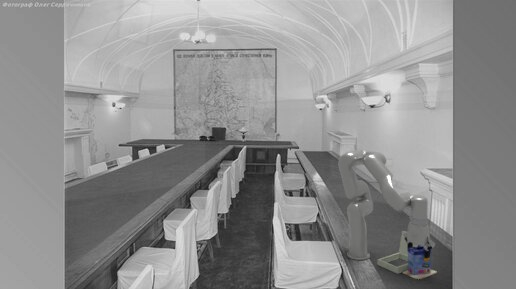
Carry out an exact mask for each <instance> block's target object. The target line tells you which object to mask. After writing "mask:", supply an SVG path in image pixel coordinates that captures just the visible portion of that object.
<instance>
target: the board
mask: <svg viewBox="0 0 516 289" xmlns="http://www.w3.org/2000/svg"><path fill="white" fill-rule="evenodd" d="M402 274H404V275H406V276H409V277H411V278H413V279H415V280H417V279H418V280H417V281H419V279H420V280H422V279H425V278H427V277H430V276H431V275H432V276H433V275H435V274H437V270H434V269H431V272H430V273H424V274H418V275H413V274H412V273H411V272H409V271H408V270H407V271H404V272H402Z"/></svg>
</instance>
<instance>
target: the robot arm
mask: <svg viewBox="0 0 516 289" xmlns="http://www.w3.org/2000/svg"><path fill="white" fill-rule="evenodd" d="M386 164H387V158H386V156H385V154H383V153H381V152H378V151H371V150H366V149H365V150H364V149H358V150H351V151H346V152H345V153H343V154H342V155H341V156H340V157H339V159H338V163H337V165H338V166H337V167H338V171H339V173H340V176H341V181H342V182H341V183H342V186H343V189H344V194H345V197H347V199H349V200H355V201H352V202H351V203H349V204H348V205H347V208H346V214H347V218H348V232H349V234H348V235H349V236H348V238H349V243H348V244H347V245H346V247H345V248H346V249H347V250H348V251H347V253H346V256H347V258H349V259H352V260H356V261H364V260H368V259H369V258H370V257H371V254H370V253H369V252H368V241H367V240H368V238H367V231H368V230H367V222H366V220H365V217H366V216H368V215H370V214H371V213H372V212H373V210H374V202H373V197H372V195H371V190H370V188H369V185H368V184H367V182H365V181H364V180H360V179H358V175H357V173H356V171H355V169H354V167H357V166H360V165H362V166H364V167H365V168H366V170H367V172H369V173H370V174H371V176H372V177H373V179H375V181H376V182H377V183H378V185H379V189H380V192H381V195H382V197H383V198H384V200H385V201H386V203H387V204H388V205H389V206H390V208H392V209H393V210H394V211H398V212H403V211H405V210H406V209H410V216H409V217H408V218H409V219H410V221H409V222H408V225H407V231H406V232H407V233H404V234H403V235H404V237H405V240H406V243H407V249H408V248H411V247H413V243H414V244H417V245H419V246H424V248H425V252H424V258H425V259H426V258H429V257H430V250H431V251H432V249H434V248H435V245H436V243H435V242H434V241H433V240H432V239H431V237H430V236H431V234H430V228H429V224H428V205H429V204H428V198H427V197H426V196H422V195H415V194H412V193H408V192H403V193H400V194H399V193H398V192H397V191H396V189H395V188H394V185H393V176H394V175H393V173H392V172H391V170H390V169H388V167H387V166H386ZM427 247H428V248H427ZM407 251H408V250H407Z"/></svg>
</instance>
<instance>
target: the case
mask: <svg viewBox="0 0 516 289" xmlns="http://www.w3.org/2000/svg"><path fill="white" fill-rule="evenodd" d="M404 233H407V231H405V230H402V231H401V237H400V242H399V247H398V248H399V250H398V252H396V253H392V254H390V255H387V256H384V257H381V258H378V259H377V266H379V267H382V268H383V269H386V270H388V271H390V272H392V273H395V274H400V273H403V272H404V271H407V270H408V251H407V250H408V249H407V243H406V240H405V237H404V235H403V234H404ZM417 246H418V245H417V244H414V243H413V247H417ZM399 259H400V260H403V261H404V262H406V263H404V264H401V265H398V266H397V265H394V264H392V263H390V262H393V261H396V260H399Z"/></svg>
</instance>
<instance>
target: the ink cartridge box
mask: <svg viewBox="0 0 516 289" xmlns="http://www.w3.org/2000/svg"><path fill="white" fill-rule="evenodd" d="M427 248H428V247H427ZM424 252H425V248H424V246H419V245H418V246H417V247H411V248H408V262H407V263H408V271H409V272H411V273H412V274H413V275H418V274H424V273H430V272H431V270H432V269H431V268H432V266H431V265H432V249H431V250H430V257H429V258H426V259H425V258H424Z"/></svg>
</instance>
